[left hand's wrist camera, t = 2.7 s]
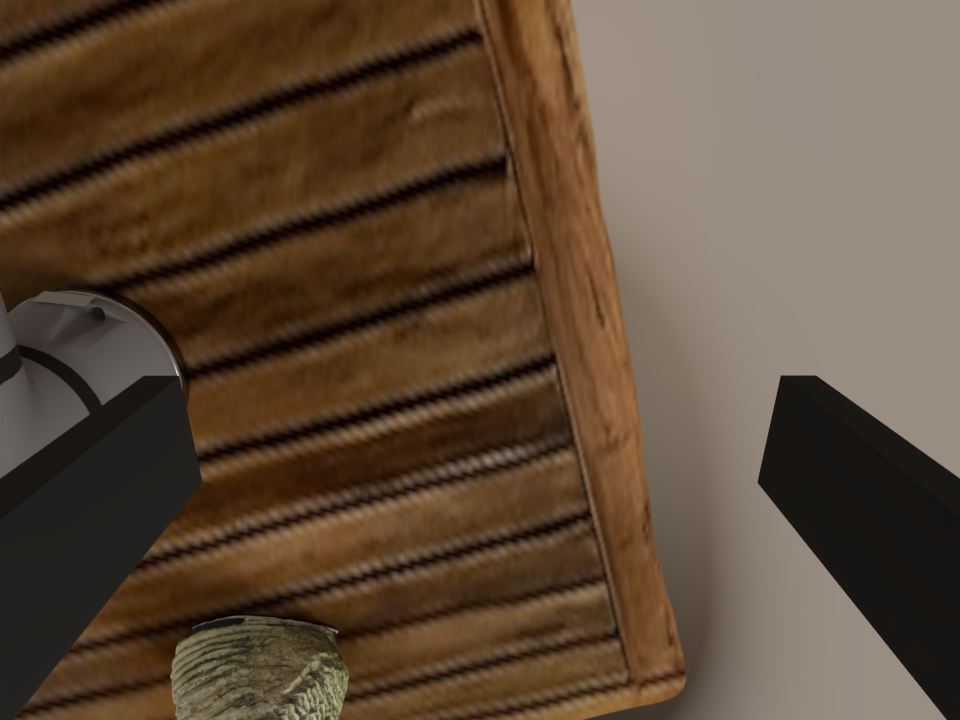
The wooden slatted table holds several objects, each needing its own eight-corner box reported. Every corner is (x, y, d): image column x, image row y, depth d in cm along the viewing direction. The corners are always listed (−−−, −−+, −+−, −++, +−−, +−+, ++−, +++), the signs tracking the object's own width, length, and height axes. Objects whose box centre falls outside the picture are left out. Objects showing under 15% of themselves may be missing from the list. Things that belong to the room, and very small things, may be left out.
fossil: (366, 658, 62) (332, 811, 48) (206, 680, 63) (129, 835, 49) (344, 597, 58) (301, 741, 44) (176, 621, 60) (84, 770, 46)
